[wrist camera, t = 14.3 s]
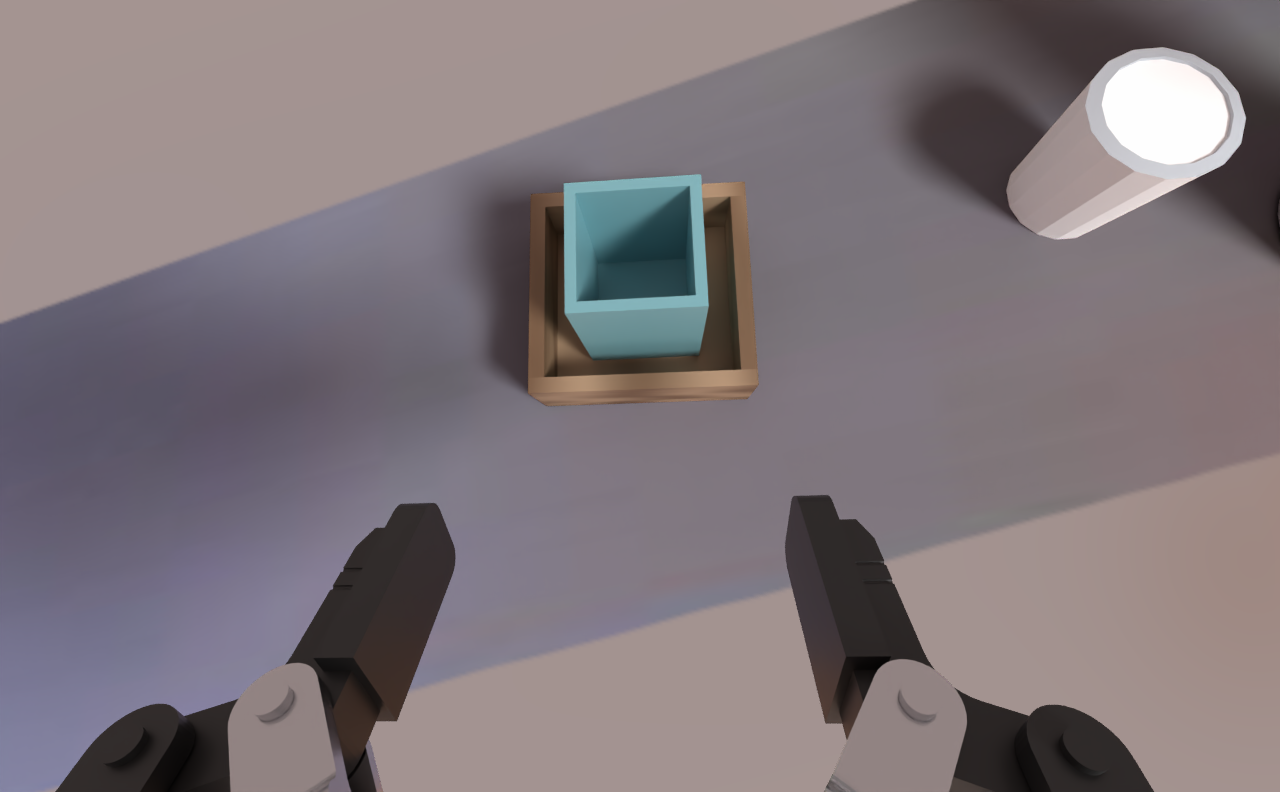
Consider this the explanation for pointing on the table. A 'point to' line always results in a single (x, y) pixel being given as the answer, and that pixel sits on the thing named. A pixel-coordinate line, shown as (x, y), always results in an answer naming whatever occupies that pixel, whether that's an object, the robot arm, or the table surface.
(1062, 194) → the white cylinder
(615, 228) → the teal crate
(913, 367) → the table surface
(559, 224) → the walnut crate
